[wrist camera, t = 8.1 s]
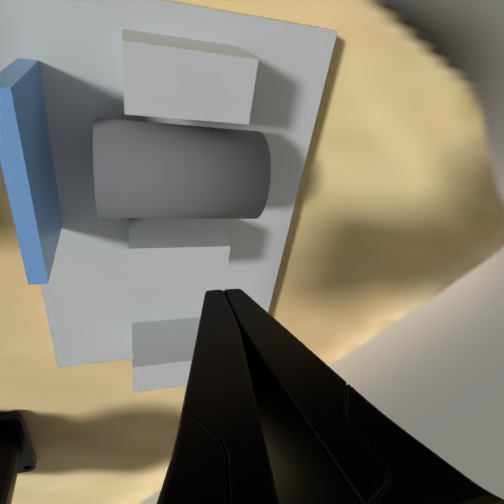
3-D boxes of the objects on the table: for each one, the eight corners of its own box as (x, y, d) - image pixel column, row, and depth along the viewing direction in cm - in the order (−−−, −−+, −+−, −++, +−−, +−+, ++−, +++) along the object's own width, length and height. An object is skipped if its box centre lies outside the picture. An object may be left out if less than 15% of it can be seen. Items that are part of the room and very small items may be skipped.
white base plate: (255, 333, 25) (280, 397, 21) (59, 353, 22) (46, 435, 18) (326, 28, 15) (395, 46, 11) (-16, -33, 12) (-85, -37, 8)
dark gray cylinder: (250, 121, 16) (277, 146, 13) (239, 197, 18) (261, 234, 15) (97, 107, 14) (90, 133, 11) (102, 194, 16) (97, 235, 13)
